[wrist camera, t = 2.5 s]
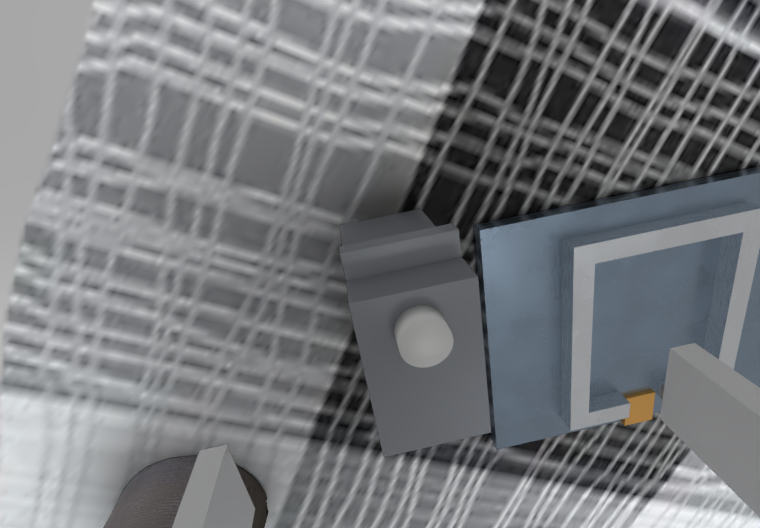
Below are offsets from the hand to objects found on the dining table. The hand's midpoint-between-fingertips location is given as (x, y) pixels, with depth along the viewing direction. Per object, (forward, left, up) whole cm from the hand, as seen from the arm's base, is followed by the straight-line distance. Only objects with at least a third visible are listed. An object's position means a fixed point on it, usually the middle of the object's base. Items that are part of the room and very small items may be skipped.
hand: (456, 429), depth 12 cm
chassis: (+15, -6, -12) cm, 20 cm away
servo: (0, 0, -12) cm, 12 cm away
